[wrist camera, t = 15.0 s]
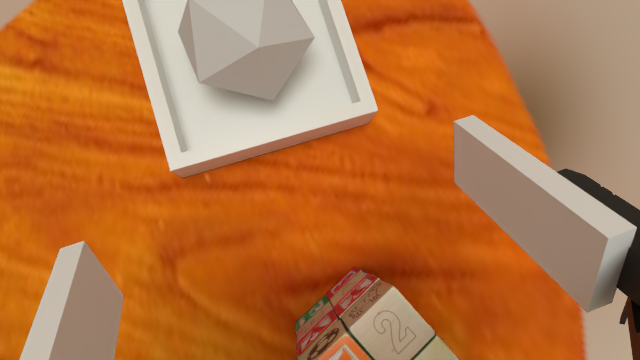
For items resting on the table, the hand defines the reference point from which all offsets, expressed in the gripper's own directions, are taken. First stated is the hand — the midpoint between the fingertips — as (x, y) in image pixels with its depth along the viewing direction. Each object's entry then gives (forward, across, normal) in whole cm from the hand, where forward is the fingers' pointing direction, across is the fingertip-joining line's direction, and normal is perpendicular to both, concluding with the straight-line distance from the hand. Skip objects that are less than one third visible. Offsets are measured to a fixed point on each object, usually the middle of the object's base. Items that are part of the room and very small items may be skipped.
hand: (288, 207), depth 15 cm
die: (+21, +1, -1) cm, 21 cm away
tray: (+21, +1, -1) cm, 22 cm away
